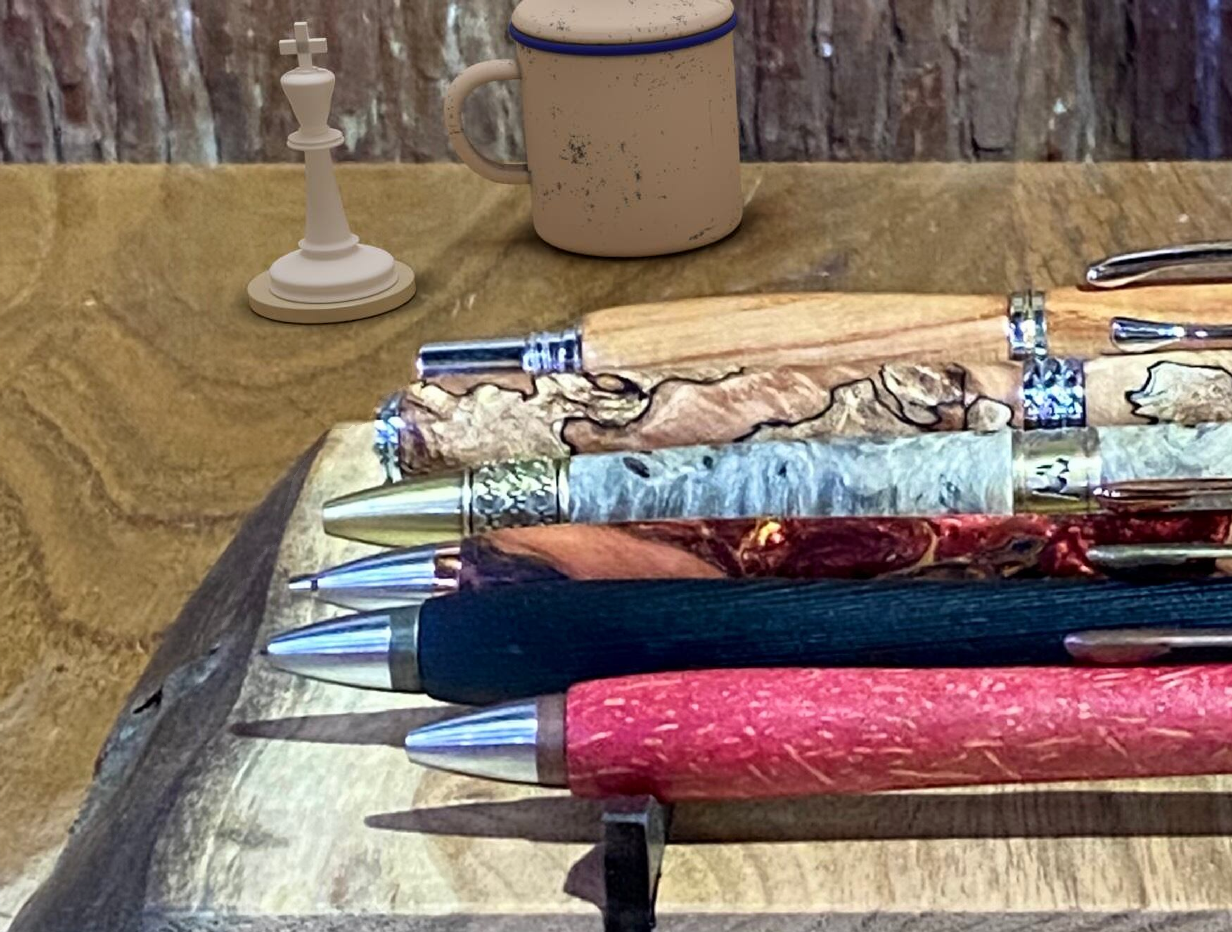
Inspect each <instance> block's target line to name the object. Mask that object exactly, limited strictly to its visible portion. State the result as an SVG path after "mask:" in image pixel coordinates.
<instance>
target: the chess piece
mask: <svg viewBox="0 0 1232 932" xmlns="http://www.w3.org/2000/svg"><path fill="white" fill-rule="evenodd" d="M293 29H294V30H293V31H294V37H295V39H280V40H279V41H278V47H279V48H278V49H279V54H280V55H281V56H282V55H283V56H284V55H297V61H298V67H295V68H294V69H292V70H289V71H287V72H285V73H284V74H282V75H281V77H280V80H279V84H280V86H281V88H282V91H283V92H284V95H285V96H286V98H287V100H288V102H289V104H290V106H291V109H292V112H293V114H294V116H295V118H296V120H297V122H298V124H299V125H300V126H299V127H298V129H297V131H294V132H291V133H290V134H288V136H287V142H286V145H287V148H290V149H291V150H295V151H299V152H300V151H301V152H304V171H305V172H304V173H305V174H304V175H305V231H304V232H305V233H304V237H303V238H301V239H300V240H298V243H297V246H298V247H299V249H296V250H293V251H291V252H289V253H287V254H284V255H282V256H281V257H279V258H278V259H276V260H275V261H274V262H273V263H272V264H270V267H269V269H268V270H269V276H270V278H271V281H270V283H269V289H270V291H271V292H272V293H273V294H274V295H276V296H278V297H280V298H282V299H286V300H290V301H295V302H303V303H333V302H343V301H350V300H355V299H360V298H364V297H368V296H371V295H374V294H377V293H380V292H382V291H384V290H386V289H388V288H390V287H391V286H392V285H394V284H395V283H396V281H397V280H398V272H397V271H396V269H395V268H394V267H395V261H394V260H395V258H394V256H392V254H390V253H389V252H388V251H386V250H384V249H382V248H379V247H377V246H373V245H369V244H363V243H359V242H360V237H359V236H358V235H356V234H355V233H352V232H351V229H350V227H349V224H348V220H347V217H346V213H345V209H344V205H343V202H342V197H341V195H340V190H339V186H338V181H337V177H336V173H335V168H334V165H333V164H334V163H333V160H332V154H331V150H330V149H334V148H337V147H340V146H341V145H343V144H344V143H345V137H344V136H343V132H342V131H341V130H339V129H336V128H332V127H331V126H330V125H328V119H329V116H330V111H331V102H332V97H333V93H334V90H335V84H336V76H335V74H334V72H332V71H331V70H329V69H327V68H323V67H318V66H317V65H313V59H312V54H322V53H323V54H324V53H327V52H328V42H327V37H318V38H310V35H309V27H308V22H307V21H295V22H294V24H293Z"/></svg>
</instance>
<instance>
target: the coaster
mask: <svg viewBox="0 0 1232 932" xmlns="http://www.w3.org/2000/svg"><path fill="white" fill-rule="evenodd" d="M394 261H395V267H394V268H395V269H396V271H397V272H398V280H397V281H396V283H395V284H394V285H392V286H391V287H390V288H388V289H386V290H384V291H382V292H380V293H377V294H374V295H371V296H368V297H364V298H360V299H355V300H350V301H343V302H333V303H303V302H295V301H290V300H286V299H282V298H280V297H278V296H276V295H274V294H273V293H272V292H271V291H270V289H269V283H270V281H271V278H270V276H269V269H267V270H265V271H263V272H260V273H259V274H257V275H256V276H254V277H253V278H252V279H251V280H250V281H249V283H248V284H247V288H246V294H247V300H248V305H249V307H250V309H251V310H252V311H253V312H254V313H256V314H257V315H259V316H261V317H264V318H266V319H271V320H274V321H279V322H285V323H286V322H287V323H296V324H329V323H341V322H347V321H348V322H349V321H355V320H360V319H365V318H369V317H370V318H371V317H373V316H377V315H381V314H384V313H386V312H390V311H392V310H394V309H396V308H398V307H401V306H402V305H404V304H407V302H408V301H410V300H411V299H412V298H413V297H414V295H415V294H416V291H417V282H416V274H415V272H414V270H413V268H411V266H409V265H407V263H404V262H402V261H400V260H396V259H394Z"/></svg>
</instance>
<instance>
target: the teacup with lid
mask: <svg viewBox="0 0 1232 932" xmlns="http://www.w3.org/2000/svg"><path fill="white" fill-rule="evenodd" d="M738 21H739V17H738V13H737V11H735V5H734V4H733V1H732V0H521V1H520V2H519V3H518V4H517V5H516V7H515V8H514V9H513V12H512V15H511V22H510V23H509V26H508V33H509V35H510V37H511V38H512V39H513V41H515V42H516V53H517V58H503V59H491V60H485V61H481V62H478V63H475V64H472V65H471V66H469V67H467V68H465V69H464V70H462V71H461V72H460V73H459V74H458V75H457V76H456V77H455V78H454V80H452V82H451V84H450V85H449V86H448V88H447V90H446V93H445V97H444V101H443V118H444V124H445V129H446V132H447V135H448V138H449V141H450V143H451V145H452V147H453V149H454V150H455V152H456V153H457V155H458V157H459V158H460V160H461V161H462V162H463V163H464V164H465V165H466V166H467V167H468V168H469V169H470V170H471V171H472V172H474V173H475V174H477V175H478V176H479V177H481V178H483V179H485V180H488V181H490V182H493V183H497V184H503V185H515V186H516V185H518V186H519V185H529V190H530V200H531V201H530V202H531V212H532V221H533V222H532V223H533V226H534V227H533V228H534V229H535V231H536V233H537V235H538V236H539V237H540V238H541V239H542V240H543V241H545V243H547V244H549V245H551V246H552V247H555V248H558V249H561V250H564V251H566V252H570V253H576V254H580V255H587V256H595V257H605V258H608V257H609V258H639V257H653V256H662V255H669V254H675V253H681V252H685V251H690V250H693V249H697V248H700V247H704V246H706V245H710V244H713V243H715V242H717V241H720V240H721V239H723V238H725V237H727V236H728V235H729V234H731V233H732V232H733V231H734V230H736V228H737V227H738V226H739V225H740V223H741V221H742V218H743V215H744V214H743V213H744V211H743V210H744V209H743V208H744V207H743V194H742V193H743V192H742V175H741V174H742V173H741V158H740V140H739V139H740V138H739V124H738V104H737V87H736V85H737V84H736V70H735V52H734V36H733V35H734V32H733V31H734V29H735V28H736V27H737V25H738ZM510 80H513V81H515V80H519V85H520V87H519V88H520V96H521V106H522V117H523V126H524V128H523V129H524V137H525V149H526V160H527V162H525V163H506V162H499V161H495V160H492V159H490V158H488V157H487V156H485V155H483V154H482V153H481V152H480V151H479V150H477V148H475V146H474V145H473V143H471V140H469V138H468V136H467V134H466V133H465V130H464V127H463V120H462V119H463V118H462V113H463V107H464V103H465V101H466V99H467V97H468V96H469V95H470V94H471V93H472V92H473V91H474V90H475V89H476V88H478V87H480V86H482V85H484V84H487V83H491V82H497V81H510Z"/></svg>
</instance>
